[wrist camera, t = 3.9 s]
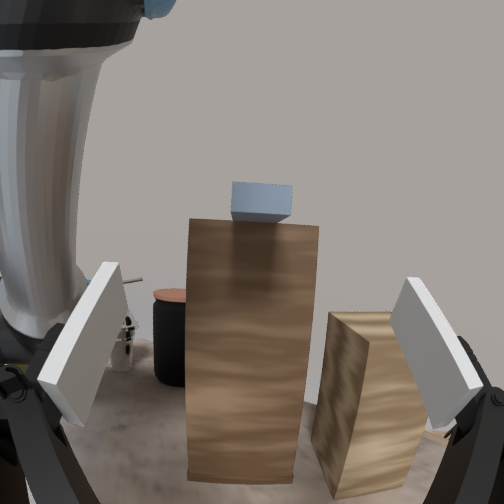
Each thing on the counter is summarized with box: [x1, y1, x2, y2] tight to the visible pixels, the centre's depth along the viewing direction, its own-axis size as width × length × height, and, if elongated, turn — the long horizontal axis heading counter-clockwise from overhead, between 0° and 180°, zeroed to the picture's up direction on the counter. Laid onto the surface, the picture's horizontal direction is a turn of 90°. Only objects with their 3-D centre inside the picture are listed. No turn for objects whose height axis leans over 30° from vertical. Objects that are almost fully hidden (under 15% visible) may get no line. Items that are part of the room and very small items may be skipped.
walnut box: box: [185, 219, 319, 484], centre depth 36 cm, size 14×12×30 cm
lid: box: [231, 182, 292, 223], centre depth 31 cm, size 20×4×4 cm, turn 2°
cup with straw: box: [109, 278, 143, 372], centre depth 60 cm, size 8×9×20 cm
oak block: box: [311, 312, 428, 500], centre depth 32 cm, size 14×9×20 cm, turn 2°
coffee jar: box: [153, 289, 186, 387], centre depth 60 cm, size 11×11×18 cm
